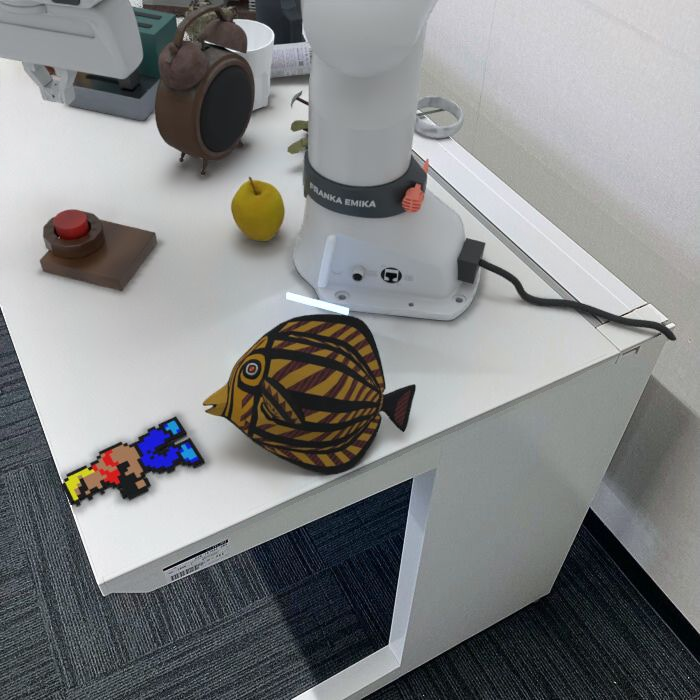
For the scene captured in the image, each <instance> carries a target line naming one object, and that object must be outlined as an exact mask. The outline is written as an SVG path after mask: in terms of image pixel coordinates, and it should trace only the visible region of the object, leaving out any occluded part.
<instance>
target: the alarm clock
mask: <svg viewBox="0 0 700 700" xmlns="http://www.w3.org/2000/svg"><path fill="white" fill-rule="evenodd" d="M211 11H215V13H216V15H217V16H218V18H219V19H217V20H213V21H211V22H210V23H208V24H207V26H206V27H205V29H204V31H203V34H202V35H200V36H199V37H198V38H197V40H195V41H190V40H185V39H184V37H185V34H186V29H187V27H188V26H189V25H190V24H191V23H192V22H193V21H194V20H196V19H197V18H199V17H201V16H202V15H204V14H206V13H208V12H211ZM233 19H234V15H233V13H231V12H230V13H229V14H227V18H226V17H225V15H224V13H223V11H222V10H221V8H220V7H218V6H215V5H205V6H203V7H200V8H198V9H197V10H195V11H193V12H192V13H190V14H189V15H187V16H186V17H185V18H183V19H182V20H181V21H180V23H178V24H177V30H176V34H175V38H174V42H171V43H170V44H168V45H167V46H166V47H165V48H164V49H163V50H162V52H161V54H160V56H159V60H158V64H159V71H160V74H161V78H160V81H159V84H158V88H157V92H156V99H155V109H154V117H155V118H154V119H155V123H156V127H157V130H158V133H159V136H160V137H161V138H162V140H163V141H164V142H165V143H166V145H168V146H170V147H171V148H174V149H175V150H177V151H179V152H180V158H179V159H178V161H179V162H180V163H183V162H184V158H185V156H186V155H187V156H190V157H193V158H197V159H200V160H202V161H201V171H199V174H200V175H201V176H202V177H203V176H205V174H206V169H207V167H208V164H209V163H210V162H216V161H220V160H222V159H224V158H225V157H227V156H228V155H229V154H231V153H232V152H233V151H234V150H235V148H236V147H237V146H239V147H243V146H244V141H242V138H243V137H244V135H245V133H246V131H247V129H248V127H249V125H250V121H251V117H252V114H253V112H254V111H253V106H254V98H255V82H254V76H253V72H252V69H251V67H250V65H249V63H248V62H247V61H246V59H245V58H243V57H242V56H240V55H238V54H236V53H234V52H232V51H230V50H228V49H231V50H235V51H238V52H242V53H247V36H246V33H245V32H244V30H243V29H242V28H241V27H240V26H239V25H237V24H235V22H233ZM204 41H207V42H210V43H213V44H209V43H205V42H204ZM214 44H216V45H214ZM218 45H219V46H218ZM226 48H228V49H226Z"/></svg>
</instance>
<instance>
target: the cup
mask: <svg viewBox="0 0 700 700" xmlns="http://www.w3.org/2000/svg"><path fill="white" fill-rule="evenodd" d="M233 22H235V24H237V25H239V26H240V27H241V28H242V29H243V30H244V32H245V33H246V36H247V53H242V52H238V51H235V50H231V49H228V48H226V49H228V50H230V51H232V52H234V53H236V54H238V55H240V56H242V57H243V58H245V59H246V61H247V62H248V63H249V65H250V67H251V69H252V72H253V76H254V82H255V98H254V106H253V111H252V112H254V111H256V110H258V109H260V108H265V107H268V106H269V96H270V93H271V78H270V74H271V63H272V56H273V45H274V33H273V31H272V30H271V29H270V28H269V27H268V26H266V25H264V24H262V23H259V22H257V21H251V20H242V19H234V20H233ZM204 42H205V43H209V44H213V43H210V42H207V41H204ZM214 45H216V44H214ZM218 46H219V45H218Z"/></svg>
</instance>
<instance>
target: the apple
mask: <svg viewBox="0 0 700 700" xmlns="http://www.w3.org/2000/svg"><path fill="white" fill-rule="evenodd" d="M285 208H286V207H285V203H284V200H283V197H282V195H281V193H280V191H279V190H278V189H277V188H276V186H274V185H273V184H271V183H269V182H265V181H262V180H259V179H252V177H251V176H248V180H247V181H245V182H244V183H242V184H241V185H240V187H239V188H238V189H237V191H236V192H235V194H234V196H233V197H232V200H231V204H230V211H231V215H232V218H233V220H234V223H235V224H236V226H237V227H238V229H239V230H240V231H241V233H243V235H244V236H246V238H247V239H249V240H253V241H257V242H258V241H259V242H268V241H270V240H272V239H273V238H274V237H275V236H276V235H277V233H278V232H279V231H280V229H281V227H282V225H283V222H284V219H285V213H286V209H285Z"/></svg>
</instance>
